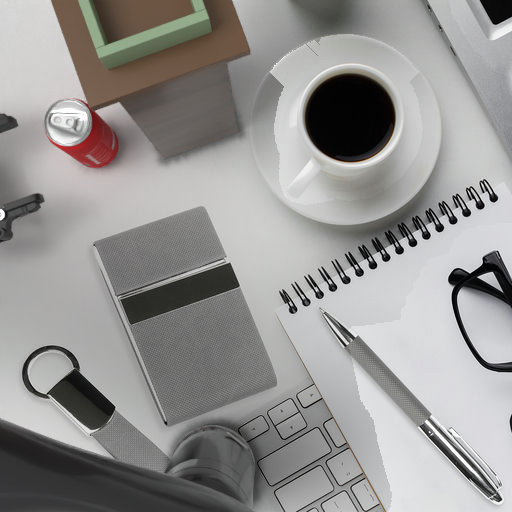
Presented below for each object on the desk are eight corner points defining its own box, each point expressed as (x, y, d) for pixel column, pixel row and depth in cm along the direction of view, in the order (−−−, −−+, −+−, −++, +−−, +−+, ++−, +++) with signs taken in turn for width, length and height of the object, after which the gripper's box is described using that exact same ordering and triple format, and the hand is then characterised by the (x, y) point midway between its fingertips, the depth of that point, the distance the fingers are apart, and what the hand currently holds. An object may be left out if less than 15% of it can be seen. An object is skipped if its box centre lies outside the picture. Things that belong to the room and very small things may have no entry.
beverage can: (115, 173, 77) (88, 153, 65) (71, 164, 77) (36, 142, 65) (125, 129, 77) (99, 101, 65) (80, 120, 77) (47, 90, 65)
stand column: (238, 132, 77) (224, 42, 48) (164, 159, 77) (105, 85, 48) (211, 60, 78) (181, -74, 49) (138, 86, 78) (63, -31, 49)
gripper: (-117, 276, 66) (39, 219, 66) (-163, 140, 67) (-9, 84, 67) (-78, 276, 74) (62, 225, 74) (-120, 155, 74) (19, 104, 74)
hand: (28, 158), depth 70 cm, fingers open, 8 cm apart
